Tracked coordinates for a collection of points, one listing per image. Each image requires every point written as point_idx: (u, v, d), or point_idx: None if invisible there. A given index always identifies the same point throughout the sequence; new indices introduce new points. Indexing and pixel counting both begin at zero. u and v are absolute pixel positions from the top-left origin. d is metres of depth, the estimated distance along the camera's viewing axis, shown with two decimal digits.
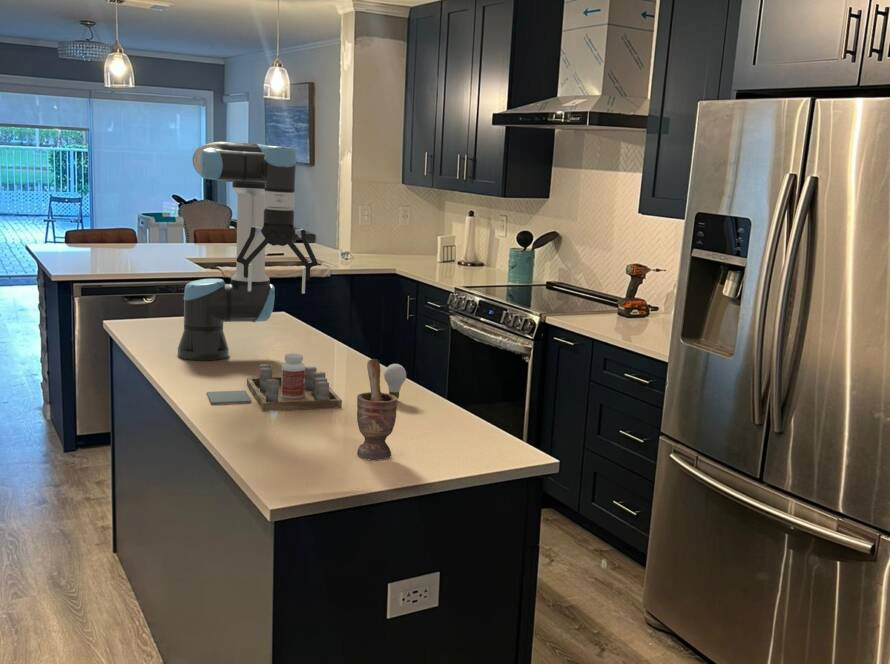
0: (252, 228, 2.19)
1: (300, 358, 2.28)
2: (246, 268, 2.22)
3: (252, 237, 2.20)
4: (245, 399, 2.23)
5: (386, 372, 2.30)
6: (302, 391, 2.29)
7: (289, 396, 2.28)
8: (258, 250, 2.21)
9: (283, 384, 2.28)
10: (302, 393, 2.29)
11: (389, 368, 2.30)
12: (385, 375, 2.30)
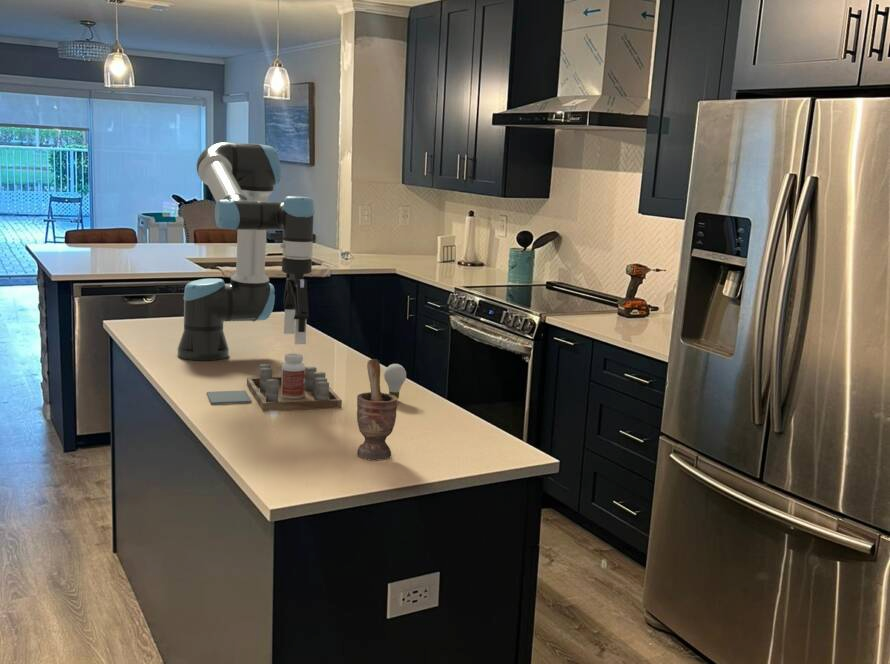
0: (286, 274, 2.30)
1: (300, 358, 2.28)
2: None
3: (286, 282, 2.31)
4: (245, 399, 2.23)
5: (386, 372, 2.30)
6: (302, 391, 2.29)
7: (289, 396, 2.28)
8: (287, 295, 2.30)
9: (283, 384, 2.28)
10: (302, 393, 2.29)
11: (389, 368, 2.30)
12: (385, 375, 2.30)
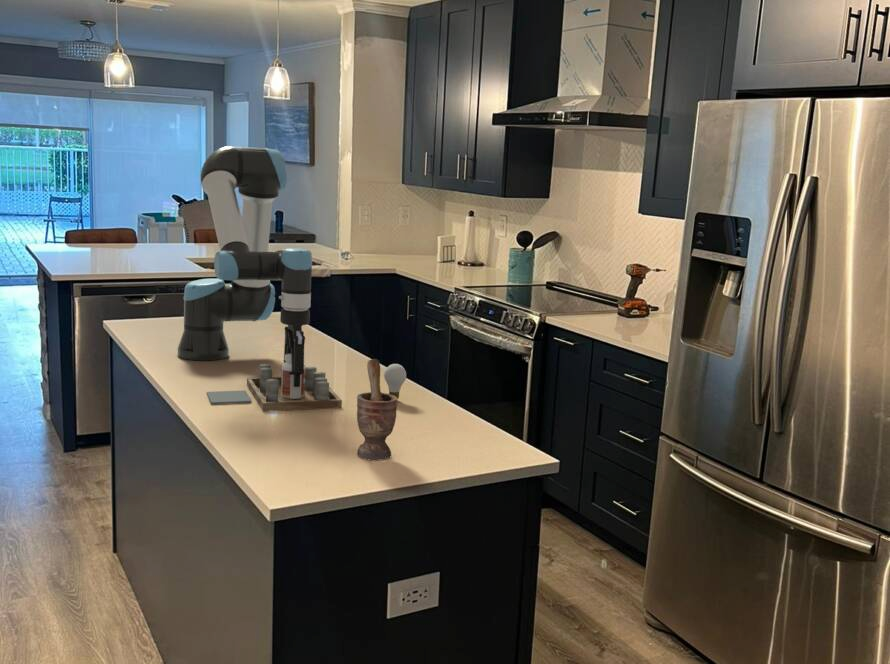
0: None
1: None
2: None
3: (285, 336, 2.33)
4: (245, 399, 2.23)
5: (386, 372, 2.30)
6: (302, 391, 2.29)
7: (289, 396, 2.28)
8: (287, 350, 2.31)
9: (283, 384, 2.28)
10: (302, 393, 2.29)
11: (389, 368, 2.30)
12: (385, 375, 2.30)
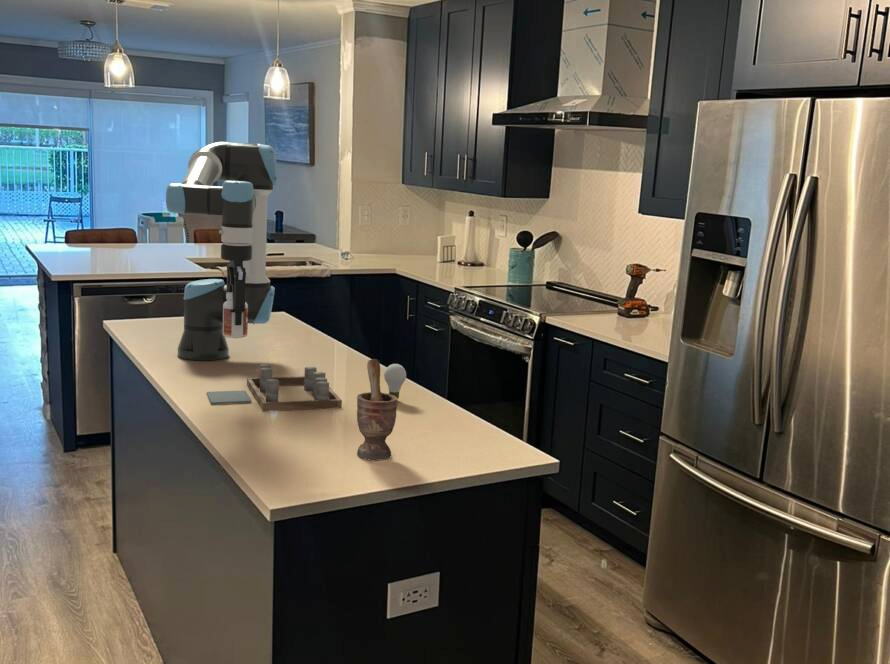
0: None
1: None
2: None
3: (227, 274, 2.24)
4: (245, 399, 2.23)
5: (386, 372, 2.30)
6: (244, 330, 2.21)
7: None
8: (229, 288, 2.22)
9: (225, 323, 2.19)
10: (244, 333, 2.21)
11: (389, 368, 2.30)
12: (385, 375, 2.30)
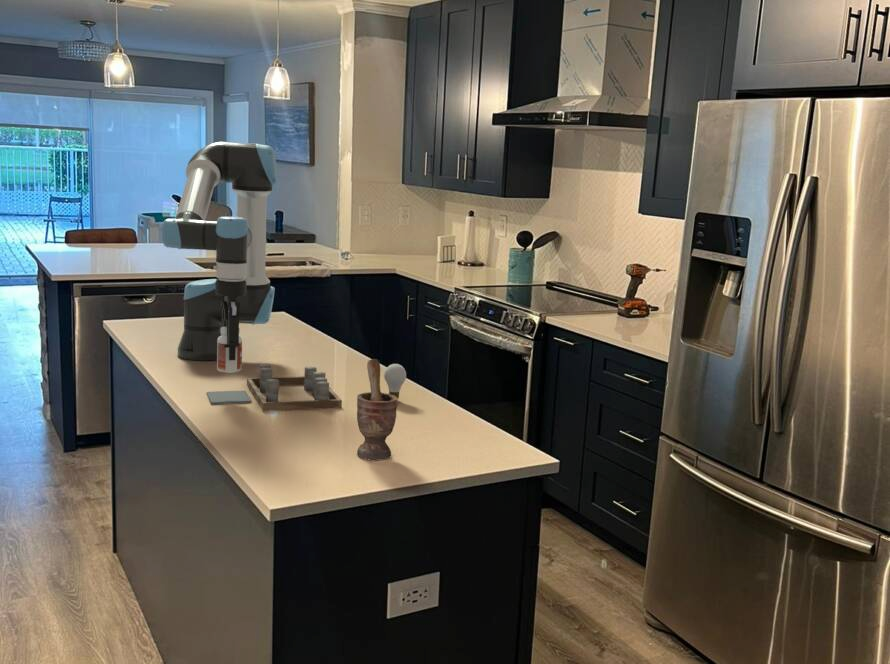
0: (222, 300, 2.25)
1: None
2: None
3: None
4: (245, 399, 2.23)
5: (386, 372, 2.30)
6: (239, 365, 2.22)
7: (225, 370, 2.20)
8: (223, 322, 2.23)
9: (219, 357, 2.20)
10: (239, 367, 2.22)
11: (389, 368, 2.30)
12: (385, 375, 2.30)
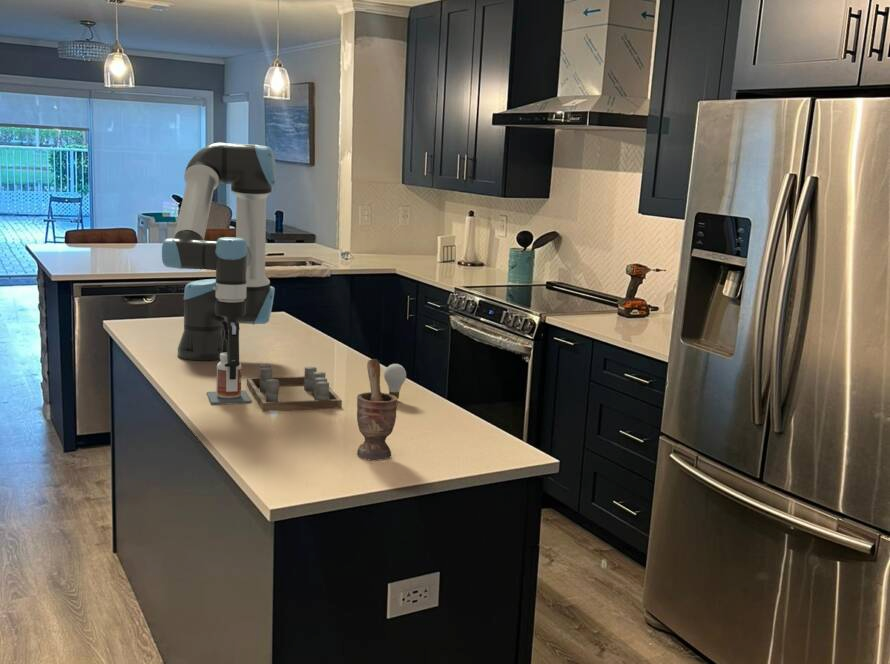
0: (221, 318, 2.26)
1: None
2: None
3: None
4: (245, 399, 2.23)
5: (386, 372, 2.30)
6: (238, 391, 2.23)
7: (224, 396, 2.22)
8: (223, 340, 2.25)
9: (218, 383, 2.22)
10: (238, 393, 2.23)
11: (389, 368, 2.30)
12: (385, 375, 2.30)
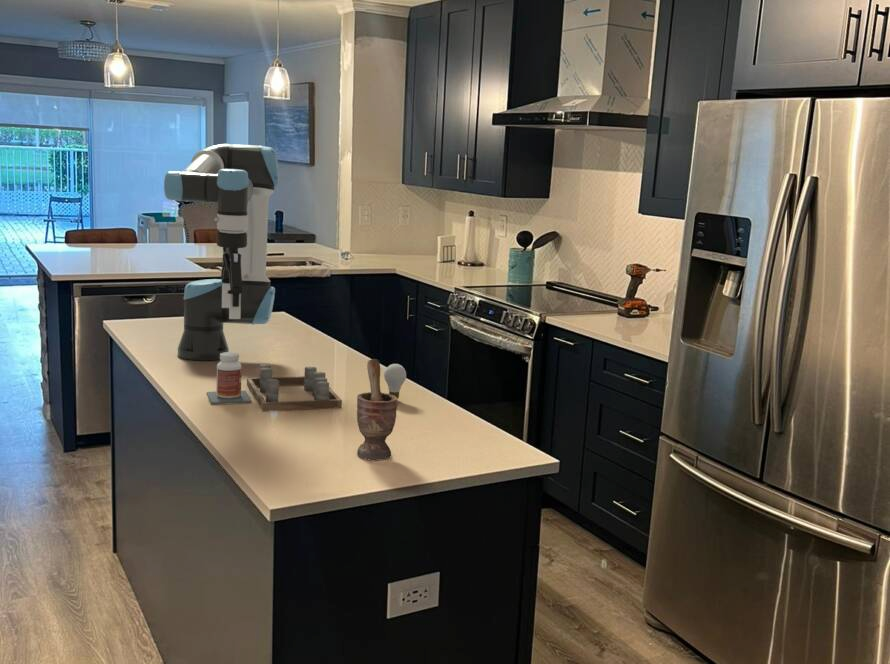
0: (223, 247, 2.28)
1: (235, 357, 2.22)
2: None
3: None
4: (245, 399, 2.23)
5: (386, 372, 2.30)
6: (238, 391, 2.23)
7: (224, 396, 2.22)
8: (224, 269, 2.28)
9: (218, 383, 2.22)
10: (238, 393, 2.23)
11: (389, 368, 2.30)
12: (385, 375, 2.30)
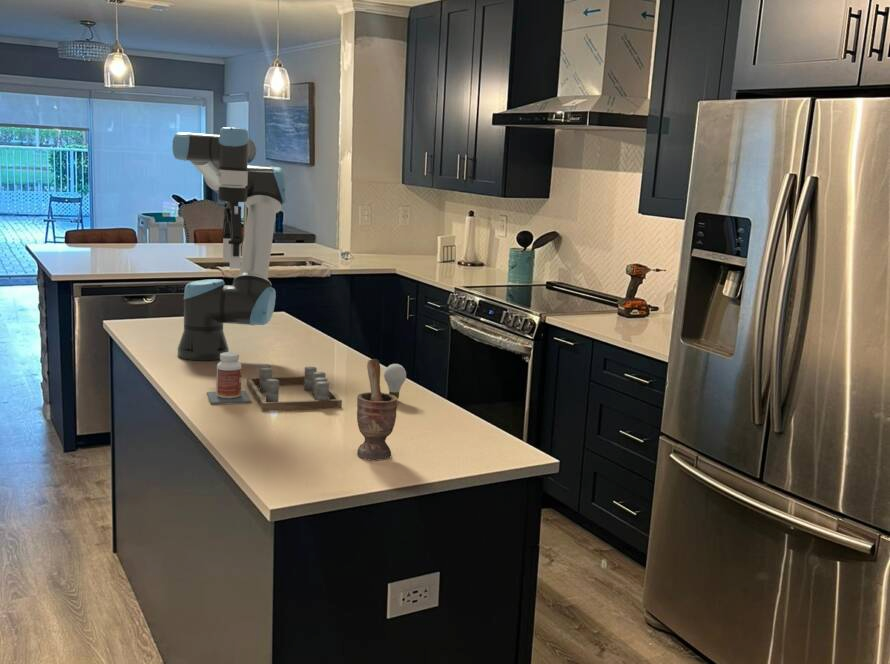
0: (224, 204, 2.41)
1: (235, 357, 2.22)
2: None
3: None
4: (245, 399, 2.23)
5: (386, 372, 2.30)
6: (238, 391, 2.23)
7: (224, 396, 2.22)
8: (225, 224, 2.41)
9: (218, 383, 2.22)
10: (238, 393, 2.23)
11: (389, 368, 2.30)
12: (385, 375, 2.30)
